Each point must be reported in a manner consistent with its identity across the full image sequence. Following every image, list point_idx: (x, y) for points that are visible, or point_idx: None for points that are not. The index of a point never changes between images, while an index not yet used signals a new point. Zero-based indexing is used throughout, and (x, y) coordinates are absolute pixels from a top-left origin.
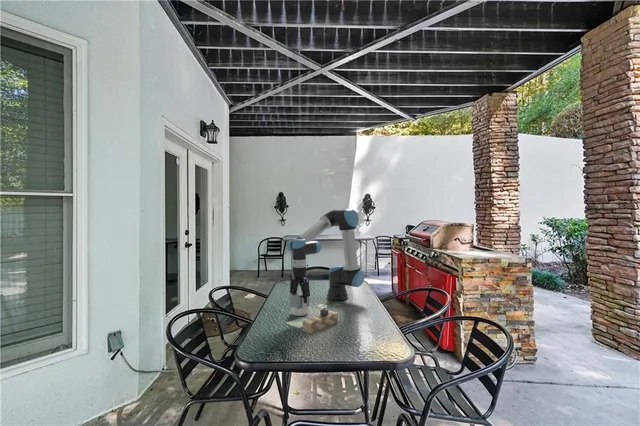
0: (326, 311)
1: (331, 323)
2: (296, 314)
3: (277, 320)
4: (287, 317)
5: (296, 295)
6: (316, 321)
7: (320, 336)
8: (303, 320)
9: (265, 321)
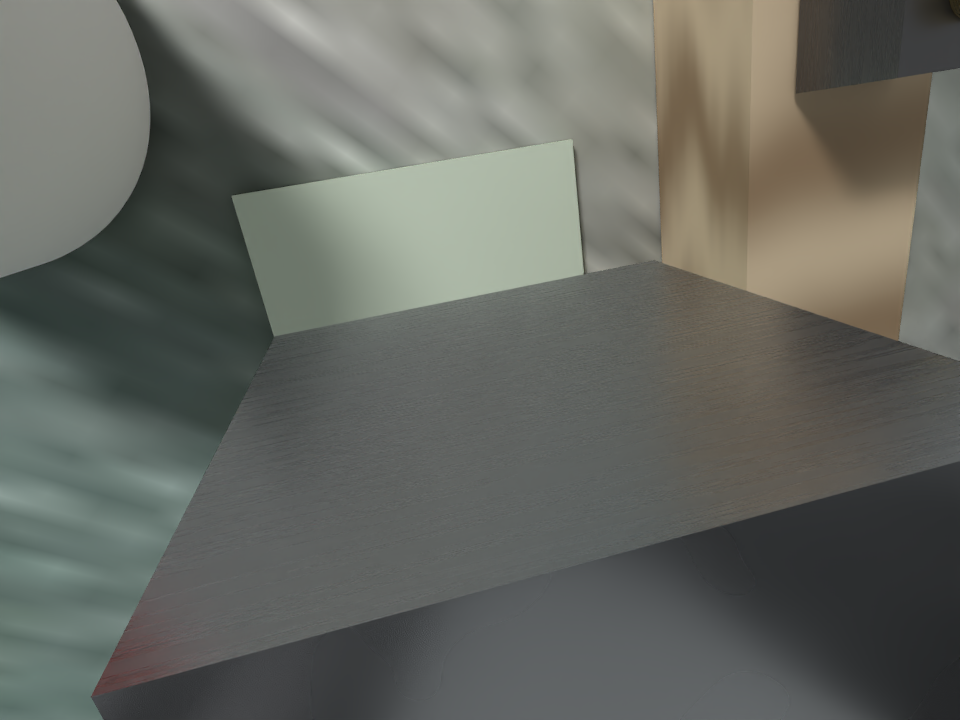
0: None
1: None
2: (89, 239)
3: (131, 560)
4: (67, 388)
5: None
6: (894, 323)
7: (918, 345)
8: (403, 256)
9: (83, 696)
